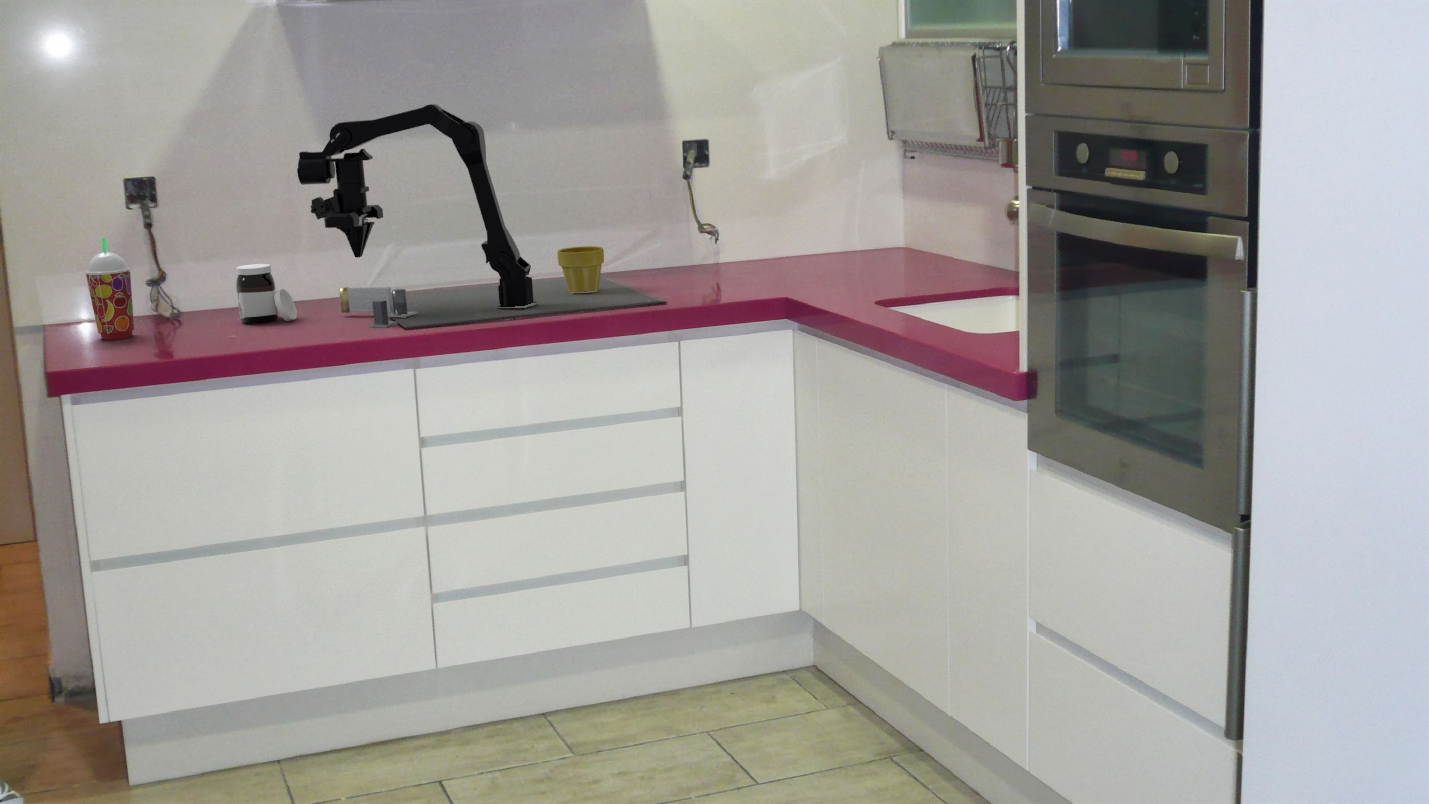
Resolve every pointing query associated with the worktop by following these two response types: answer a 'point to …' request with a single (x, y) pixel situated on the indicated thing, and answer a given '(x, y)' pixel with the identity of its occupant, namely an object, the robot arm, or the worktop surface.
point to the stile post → (381, 315)
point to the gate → (363, 298)
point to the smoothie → (111, 294)
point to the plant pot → (581, 267)
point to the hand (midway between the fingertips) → (358, 257)
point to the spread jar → (261, 296)
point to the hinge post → (399, 302)
